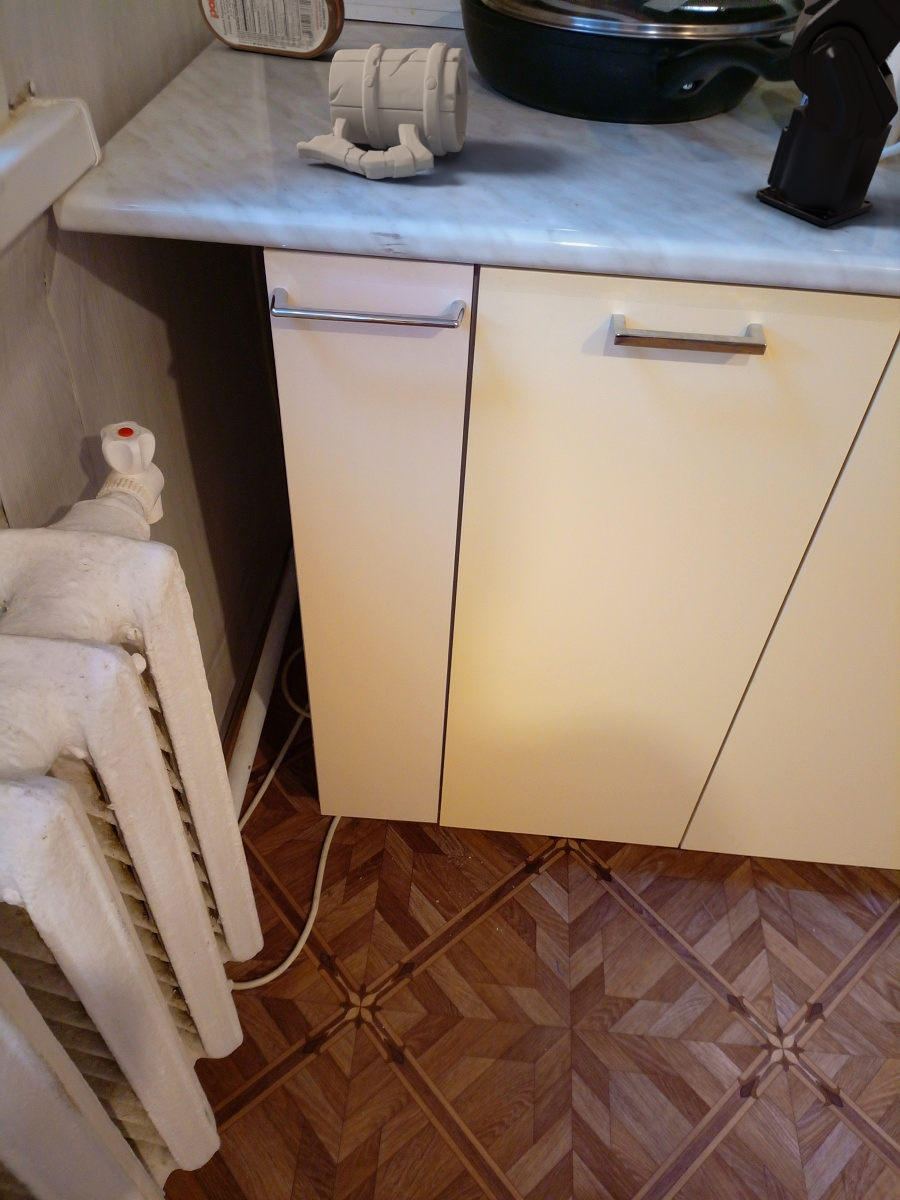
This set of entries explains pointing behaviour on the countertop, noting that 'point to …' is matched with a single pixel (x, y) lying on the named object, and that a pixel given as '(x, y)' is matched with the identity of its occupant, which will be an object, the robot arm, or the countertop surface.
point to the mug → (394, 109)
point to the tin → (276, 25)
